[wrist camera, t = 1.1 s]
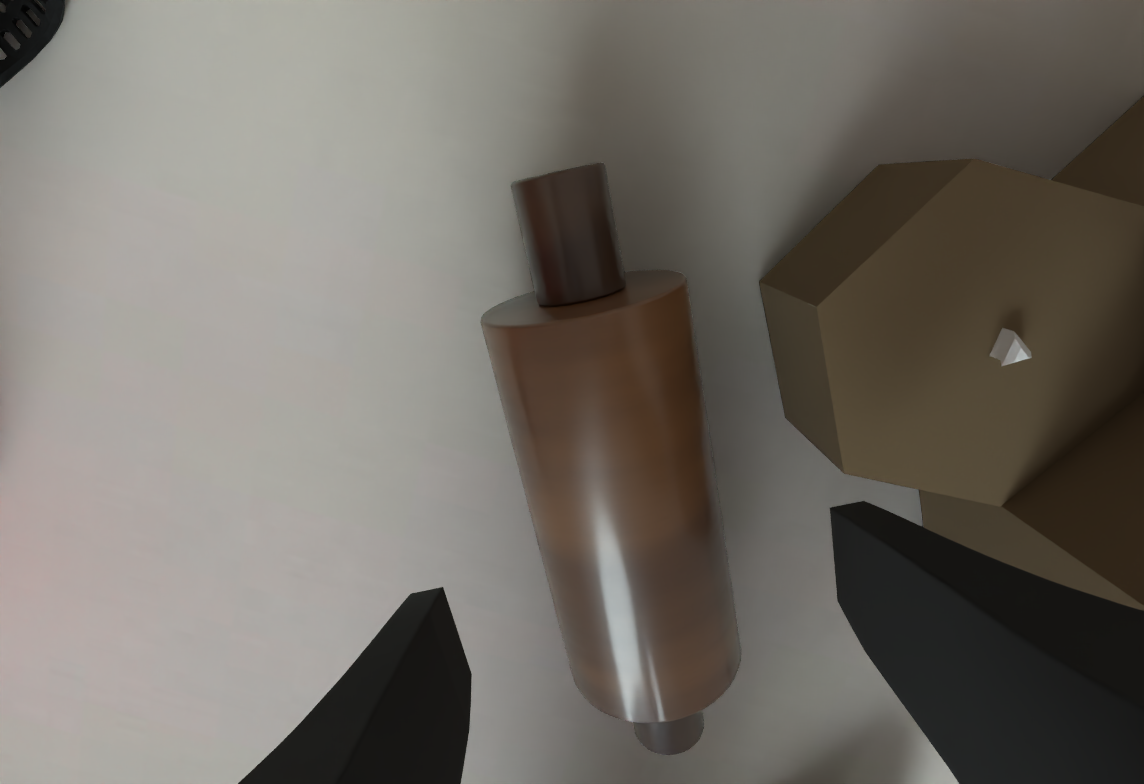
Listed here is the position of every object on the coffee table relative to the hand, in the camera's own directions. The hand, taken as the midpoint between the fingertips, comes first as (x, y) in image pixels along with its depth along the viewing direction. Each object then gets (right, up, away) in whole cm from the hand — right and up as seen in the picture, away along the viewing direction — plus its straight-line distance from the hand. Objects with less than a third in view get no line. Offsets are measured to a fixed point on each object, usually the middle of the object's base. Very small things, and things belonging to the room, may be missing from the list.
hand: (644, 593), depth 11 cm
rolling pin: (0, +1, +4) cm, 4 cm away
